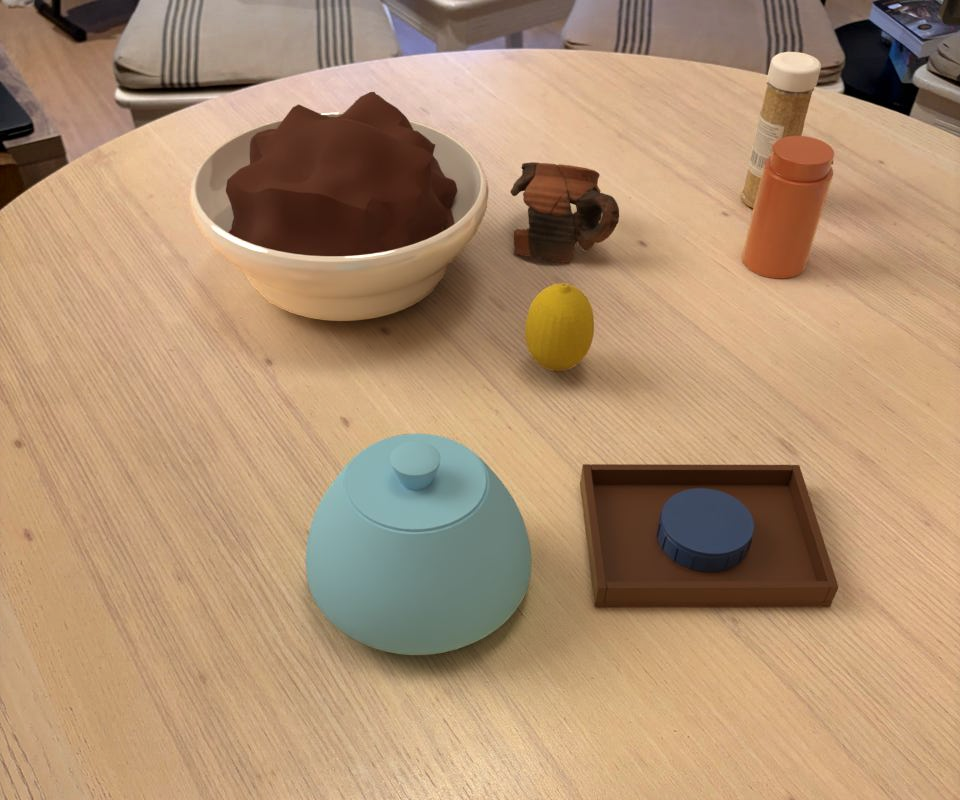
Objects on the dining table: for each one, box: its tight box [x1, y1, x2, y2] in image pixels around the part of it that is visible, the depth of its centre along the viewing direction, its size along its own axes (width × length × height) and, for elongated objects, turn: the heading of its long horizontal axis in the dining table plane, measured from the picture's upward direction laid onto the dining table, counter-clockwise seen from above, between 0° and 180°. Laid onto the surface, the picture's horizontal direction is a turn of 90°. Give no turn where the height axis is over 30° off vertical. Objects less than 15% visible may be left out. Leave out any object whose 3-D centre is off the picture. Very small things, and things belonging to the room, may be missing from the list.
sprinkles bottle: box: [740, 51, 822, 209], centre depth 98 cm, size 5×5×13 cm
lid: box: [656, 488, 754, 572], centre depth 72 cm, size 6×6×2 cm
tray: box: [579, 463, 840, 608], centre depth 72 cm, size 16×12×2 cm
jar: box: [741, 135, 835, 279], centre depth 92 cm, size 6×6×11 cm
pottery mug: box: [509, 161, 620, 263], centre depth 96 cm, size 12×10×8 cm
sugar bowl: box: [305, 433, 532, 656], centre depth 66 cm, size 15×15×12 cm
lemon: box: [524, 282, 595, 372], centre depth 82 cm, size 6×6×8 cm
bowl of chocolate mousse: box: [189, 91, 489, 322], centre depth 87 cm, size 25×25×15 cm
